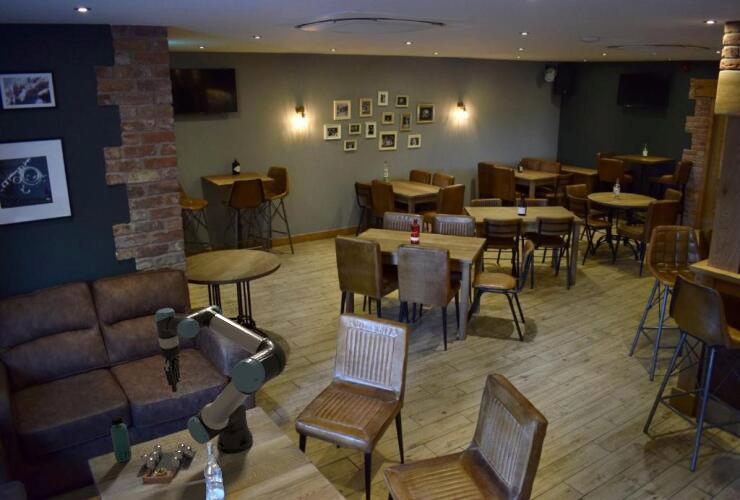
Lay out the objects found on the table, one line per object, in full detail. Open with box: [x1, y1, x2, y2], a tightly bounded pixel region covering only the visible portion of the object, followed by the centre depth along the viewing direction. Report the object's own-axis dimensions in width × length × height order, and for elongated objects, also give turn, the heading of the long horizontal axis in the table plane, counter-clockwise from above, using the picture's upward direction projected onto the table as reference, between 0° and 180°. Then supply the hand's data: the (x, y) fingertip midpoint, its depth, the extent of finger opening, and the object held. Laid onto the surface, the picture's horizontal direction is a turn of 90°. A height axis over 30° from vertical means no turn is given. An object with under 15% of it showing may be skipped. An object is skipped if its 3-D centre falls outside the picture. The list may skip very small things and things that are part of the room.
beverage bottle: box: [110, 415, 132, 463], centre depth 241 cm, size 6×7×20 cm
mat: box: [138, 450, 198, 473], centre depth 240 cm, size 20×13×1 cm, turn 91°
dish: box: [142, 467, 177, 483], centre depth 230 cm, size 11×6×3 cm, turn 91°
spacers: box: [140, 443, 194, 473], centre depth 238 cm, size 19×12×5 cm, turn 91°
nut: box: [154, 468, 168, 477], centre depth 230 cm, size 4×5×3 cm
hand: (176, 397), depth 245 cm, fingers closed
